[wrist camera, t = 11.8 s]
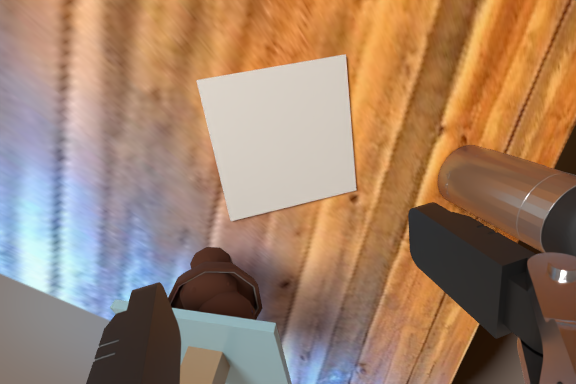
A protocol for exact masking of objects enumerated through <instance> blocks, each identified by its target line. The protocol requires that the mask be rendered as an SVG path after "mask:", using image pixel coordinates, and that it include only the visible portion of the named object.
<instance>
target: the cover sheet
mask: <svg viewBox="0 0 576 384" xmlns="http://www.w3.org/2000/svg"><path fill="white" fill-rule="evenodd" d="M128 303H129V301H122V300H114V302H113V304H112V305H111V307H110V308H111V309H112V310H113V312H114V313H115V314H116V313H120V312H123V311H126V310H127V307H128ZM172 310H173V312H174V315H175V317H176V320H177V322H178V326H179V330H180V335H181V364H180V384H292V383H291V380H290V376H289V372H288V368H287V364H286V360H285V356H284V352H283V349H282V345H281V341H280V337H279V333H278V329H277V325H276V323H273V322H266V321H259V320H252V319H245V318H238V317H231V316H225V315H218V314H211V313H204V312H197V311H190V310H183V309H177V308H172Z"/></svg>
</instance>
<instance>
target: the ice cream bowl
mask: <svg viewBox="0 0 576 384" xmlns="http://www.w3.org/2000/svg"><path fill="white" fill-rule="evenodd" d="M190 265H191V270H189V271H187V272H185V273H183V274H182V275H181V276H179V277H178V279H177V281H176V283H175V285H174V287H173V289H172V291H171V293H170V295H169V297H168V300H169V302H170V305H171V307H172V308H177V309H183V310H190V311H197V312H204V313H211V314H218V315H225V316H231V317H238V318H245V319H252V320H256V319H257V317H258V315H259V313H260V312H261V310H262V304H261V299H260V293H259V288H258V284H257V283H256V281H255V280H254V279H253V278H252V277H251V276H249V275H248V274H247V273H245V272H244V271H242V270H241V269H240V268H238V267H237V266H236V265H234V264H233V263H231V262H230V258H229V254H227V253H226V252H225V251H223V250H222V249H221V248H212V247H206V248H205V249H203V250H201V251H199V252H197V253H195V255H194V257H193V259H192V261H191V263H190Z"/></svg>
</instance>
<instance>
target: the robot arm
mask: <svg viewBox="0 0 576 384" xmlns="http://www.w3.org/2000/svg"><path fill="white" fill-rule="evenodd" d="M438 187H439V191H440V193H441V194H442V196H443V197H444V198H445V199H447V200H448V201H450V202H452V203H454V204H456V205H457V206H459V207H461V208H463V209H465V210H466V211H468V212H470V213H472V214H474V215H475V216H477V217H479V218H481V219H483V220H484V221H486V222H488V223H490V224H492V225H494V226H495V227H497V228H499V229H501V230H503V231H504V232H506V233H508V234H510V235H512V236H513V237H515V238H517V239H519V240H521V241H523V242H524V243H526V244H528V245H530V246H532V247H534V248H536V249H537V250H539V251H541V252H543V253H540V254H535V253H533V252H531V251H529V250H528V249H526V248H524V247H522V246H521V245H519V244H517V243H515V242H514V241H512V240H510V239H508V238H507V237H505V236H503V235H501V234H500V233H498V232H497V233H495V231H494V230H492V229H491V228H489V227H487V226H484V225H483V224H482V223H480V222H478V221H476V220H475V219H473V218H471V217H469V216H465V215H462V214H458V213H455V212H450V211H448V210H447V209H445V208H443V207H442V206H440V205H438V204H436V203H434V202H432V203H428V204H425V205H422V206H418V207H415V208H412V209H410V211H409V241H410V253H411V256H412V259H413V261H414V262H415V264H416V265H417V267H418V268H419V269H421V270H422V271H423V272H424V273H425V274H426V275H427V276H428V277H429V278H430V279H431V280H433V281H434V282H435V283H436V284H437V285H438V286H439V287H440V288H441V289H442V290H443V291H444V292H446V293H447V294H448V295H449V296H450V297H451V298H452V299H453V300H454V301H455V302H456V303H458V304H459V305H460V306H461V307H462V308H463V309H464V310H465V311H466V312H467V313H468V314H470V315H471V316H472V317H473V318H474V319H475V320H476V321H477V322H478V323H479V324H480V325H482V326H483V327H484V328H485V329H486V330H487V331H488V332H489V333H490V334H491V335H492V336H494V337H495V338H499V337H502V336H504V335H507V334H509V333H512V332H513V333H514V334H515V335H516V336H518V342H517V347H518V352H519V357H520V362H521V367H522V371H523V376H524V381H525V384H576V175H573V174H569V173H565V172H562V171H559V170H555V169H552V168H549V167H546V166H545V165H541V164H538V163H535V162H531V161H528V160H525V159H521V158H518V157H515V156H511V155H508V154H504V153H501V152H498V151H494V150H491V149H486V148H482V147H479V146H475V145H467V146H463V147H461V148H459V149H457V150H455V151H454V152H453V153H452V154H450V155H449V156H448V157H447V159H446V160H445V162H444V163H443V165H442V167H441V169H440V172H439V176H438ZM180 364H181V335H180V330H179V326H178V322H177V320H176V317H175V315H174V312H173V310H172V307H171V305H170V302H169V300H168V297H167V295H166V292H165V290H164V288H163V286H162V284H161V283H160V282H159V283H155V284H152V285H148V286H145V287H142V288H138V289H135V290H133V291H132V293H131V296H130V300H129V303H128V307H127V310H126V311H123V312H120V313H116V315H115V316H114V317H113V319H112V320H111V321H110V322H109V324H108V325H107V326H106V328H105V329H104V331H103V335H102V338H101V341H100V344H99V348H98V350H97V353H96V356H95V362H93V365H92V368H91V371H90V374H89V377H88V380H87V383H86V384H180Z"/></svg>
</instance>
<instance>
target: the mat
mask: <svg viewBox="0 0 576 384" xmlns="http://www.w3.org/2000/svg"><path fill="white" fill-rule="evenodd" d="M197 84H198V89H199V93H200V97H201V101H202V105H203V109H204V113H205V117H206V122H207V126H208V130H209V134H210V138H211V142H212V146H213V150H214V154H215V159H216V163H217V167H218V171H219V175H220V179H221V183H222V187H223V192H224V196H225V200H226V204H227V208H228V212H229V216H230V220H231V221H234V220H238V219H242V218H246V217H250V216H254V215H258V214H262V213H266V212H270V211H275V210H279V209H283V208H287V207H291V206H295V205H299V204H303V203H307V202H311V201H315V200H319V199H323V198H327V197H331V196H335V195H339V194H343V193H347V192H351V191H355V190H356V179H355V166H354V153H353V141H352V128H351V115H350V102H349V89H348V76H347V63H346V55H339V56H333V57H328V58H322V59H316V60H310V61H304V62H299V63H293V64H287V65H281V66H275V67H270V68H264V69H258V70H252V71H246V72H241V73H235V74H229V75H223V76H217V77H212V78H206V79H200V80H197Z"/></svg>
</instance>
